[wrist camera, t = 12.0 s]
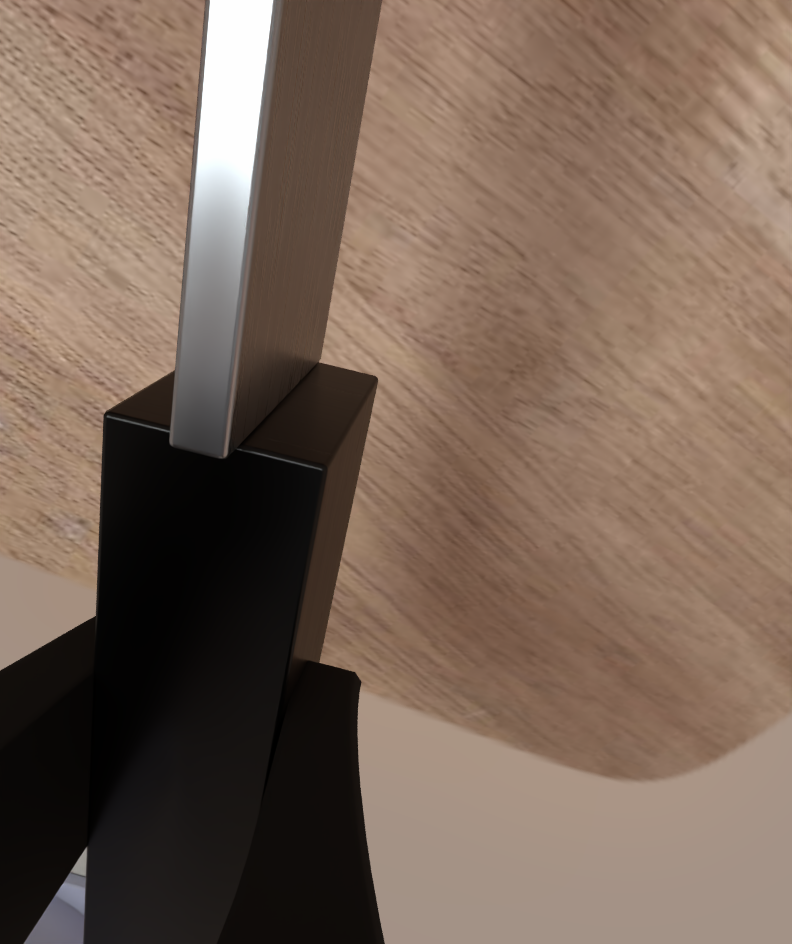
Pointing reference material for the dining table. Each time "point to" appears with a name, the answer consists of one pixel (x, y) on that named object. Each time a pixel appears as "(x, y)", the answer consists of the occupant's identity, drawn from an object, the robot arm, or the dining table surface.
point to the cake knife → (228, 478)
